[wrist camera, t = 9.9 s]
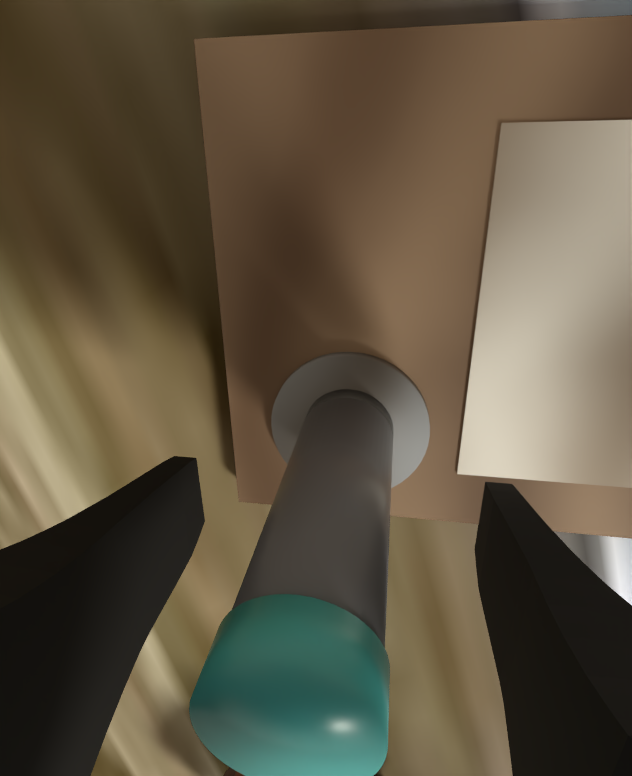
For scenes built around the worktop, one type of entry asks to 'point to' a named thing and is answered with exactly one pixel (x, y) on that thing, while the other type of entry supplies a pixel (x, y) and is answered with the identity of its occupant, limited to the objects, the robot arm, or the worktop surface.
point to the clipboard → (432, 254)
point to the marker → (311, 611)
